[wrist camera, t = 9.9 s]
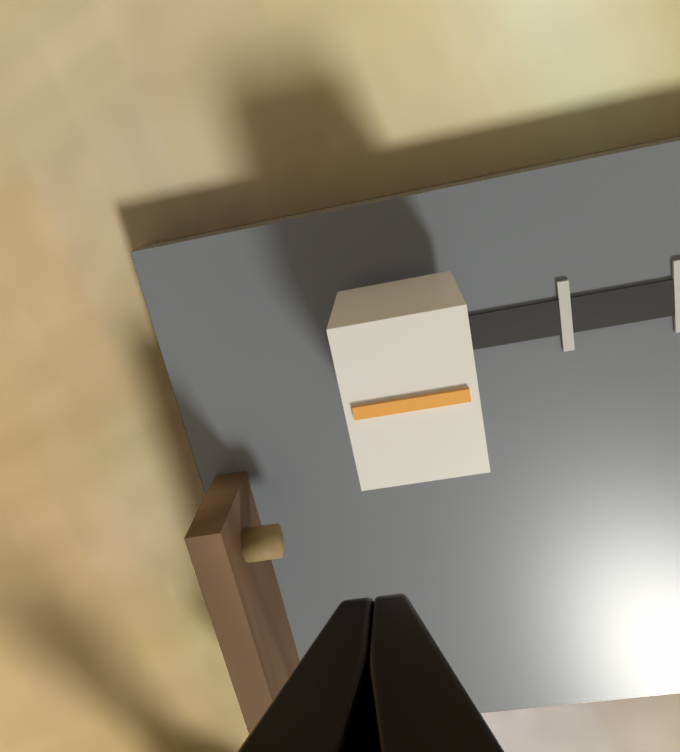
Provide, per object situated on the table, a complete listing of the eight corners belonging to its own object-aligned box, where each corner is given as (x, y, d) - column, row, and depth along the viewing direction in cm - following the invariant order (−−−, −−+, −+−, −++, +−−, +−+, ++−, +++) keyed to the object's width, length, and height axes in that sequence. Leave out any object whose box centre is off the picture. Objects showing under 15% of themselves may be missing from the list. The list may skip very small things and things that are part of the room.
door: (277, 466, 20) (256, 528, 17) (341, 709, 23) (334, 799, 20) (215, 475, 20) (184, 538, 17) (287, 715, 24) (272, 805, 21)
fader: (448, 266, 17) (467, 305, 14) (468, 402, 19) (491, 474, 15) (338, 287, 18) (325, 330, 14) (366, 418, 19) (361, 493, 15)
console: (878, 95, 17) (1098, 77, 12) (840, 665, 23) (972, 819, 18) (145, 245, 19) (57, 285, 14) (289, 721, 25) (264, 870, 20)
